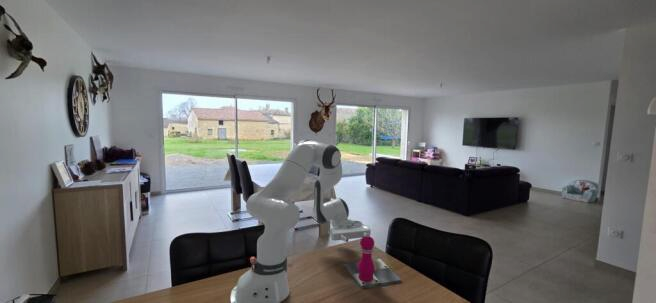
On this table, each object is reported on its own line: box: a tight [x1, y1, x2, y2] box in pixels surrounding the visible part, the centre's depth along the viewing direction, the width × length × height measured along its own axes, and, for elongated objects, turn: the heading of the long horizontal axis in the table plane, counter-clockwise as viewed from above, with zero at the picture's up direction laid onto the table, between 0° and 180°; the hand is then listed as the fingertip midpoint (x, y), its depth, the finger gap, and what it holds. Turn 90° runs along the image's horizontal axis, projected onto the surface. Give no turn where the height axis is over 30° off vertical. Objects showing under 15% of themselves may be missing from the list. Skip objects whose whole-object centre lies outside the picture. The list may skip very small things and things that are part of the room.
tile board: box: [344, 258, 402, 290], centre depth 124 cm, size 19×19×1 cm
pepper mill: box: [358, 233, 375, 282], centre depth 117 cm, size 7×7×20 cm
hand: (356, 239), depth 129 cm, fingers open, 8 cm apart
